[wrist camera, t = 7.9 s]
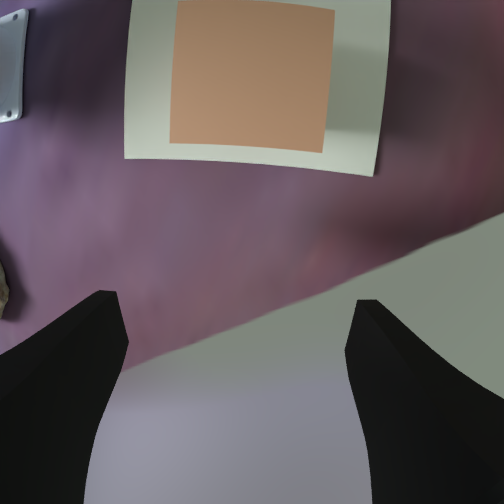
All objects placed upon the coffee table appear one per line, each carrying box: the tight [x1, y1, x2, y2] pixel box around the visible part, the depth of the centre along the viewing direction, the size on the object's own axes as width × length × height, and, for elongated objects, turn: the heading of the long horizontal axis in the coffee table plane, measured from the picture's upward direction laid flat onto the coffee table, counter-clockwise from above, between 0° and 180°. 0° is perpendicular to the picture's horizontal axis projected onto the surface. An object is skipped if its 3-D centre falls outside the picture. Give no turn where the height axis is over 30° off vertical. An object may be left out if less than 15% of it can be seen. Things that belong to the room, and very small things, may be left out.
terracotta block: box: [169, 0, 335, 153], centre depth 11 cm, size 4×4×8 cm
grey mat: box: [124, 0, 391, 177], centre depth 14 cm, size 14×12×1 cm
